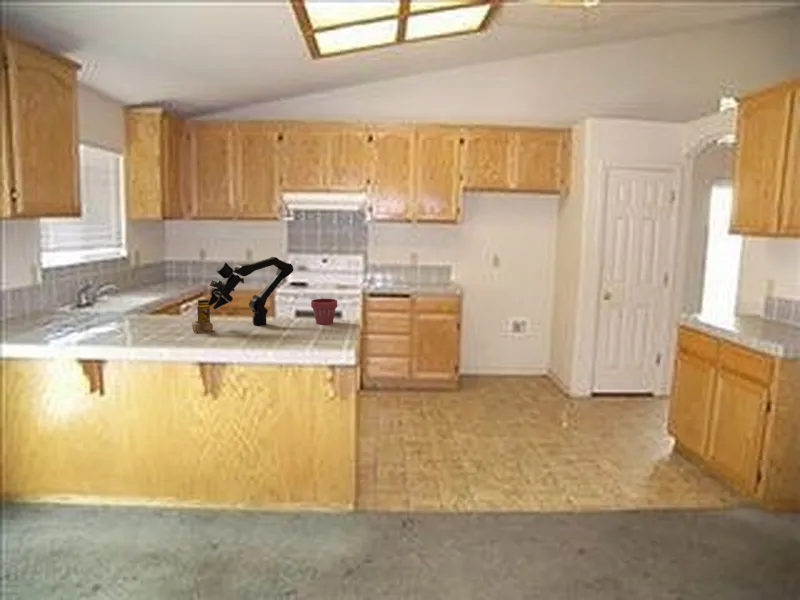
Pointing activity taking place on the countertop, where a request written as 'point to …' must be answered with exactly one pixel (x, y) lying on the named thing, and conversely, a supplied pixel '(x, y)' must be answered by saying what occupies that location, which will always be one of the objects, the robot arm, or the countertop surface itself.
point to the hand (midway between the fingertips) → (210, 307)
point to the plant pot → (324, 310)
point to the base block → (202, 327)
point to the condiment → (203, 312)
